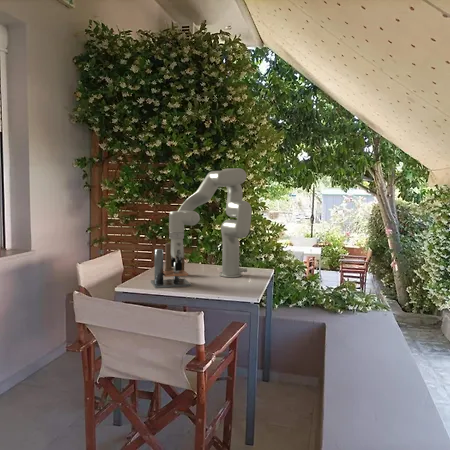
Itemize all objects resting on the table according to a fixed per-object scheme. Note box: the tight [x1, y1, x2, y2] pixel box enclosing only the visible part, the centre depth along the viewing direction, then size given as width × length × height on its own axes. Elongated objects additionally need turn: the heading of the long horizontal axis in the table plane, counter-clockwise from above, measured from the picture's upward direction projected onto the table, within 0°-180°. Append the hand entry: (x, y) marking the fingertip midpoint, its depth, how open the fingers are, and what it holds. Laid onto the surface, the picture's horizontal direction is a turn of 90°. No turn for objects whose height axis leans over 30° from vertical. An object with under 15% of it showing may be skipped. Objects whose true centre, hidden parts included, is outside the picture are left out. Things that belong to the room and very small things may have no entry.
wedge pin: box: [173, 262, 181, 283], centre depth 226 cm, size 3×3×10 cm
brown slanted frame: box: [164, 242, 185, 271], centre depth 249 cm, size 4×11×18 cm, turn 99°
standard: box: [150, 248, 192, 289], centre depth 225 cm, size 18×14×18 cm
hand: (176, 268), depth 226 cm, fingers open, 9 cm apart
